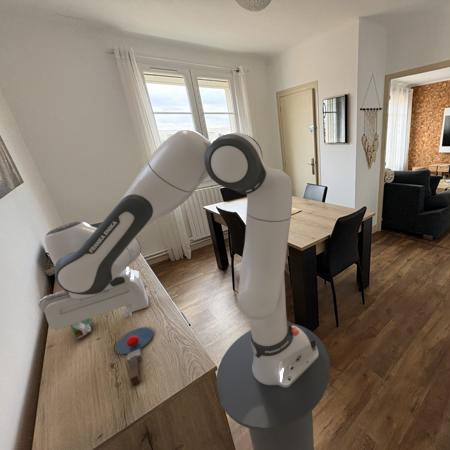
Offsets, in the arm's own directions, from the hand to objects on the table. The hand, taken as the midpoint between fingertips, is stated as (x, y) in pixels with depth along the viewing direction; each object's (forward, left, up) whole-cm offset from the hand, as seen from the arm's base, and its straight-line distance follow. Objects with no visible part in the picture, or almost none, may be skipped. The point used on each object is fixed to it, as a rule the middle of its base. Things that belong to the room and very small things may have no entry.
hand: (109, 323), depth 67 cm
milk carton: (-3, -41, -23) cm, 47 cm away
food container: (+15, -37, -23) cm, 46 cm away
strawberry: (-1, -15, -18) cm, 23 cm away
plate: (-1, -18, -22) cm, 29 cm away
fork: (-1, -4, -22) cm, 23 cm away
